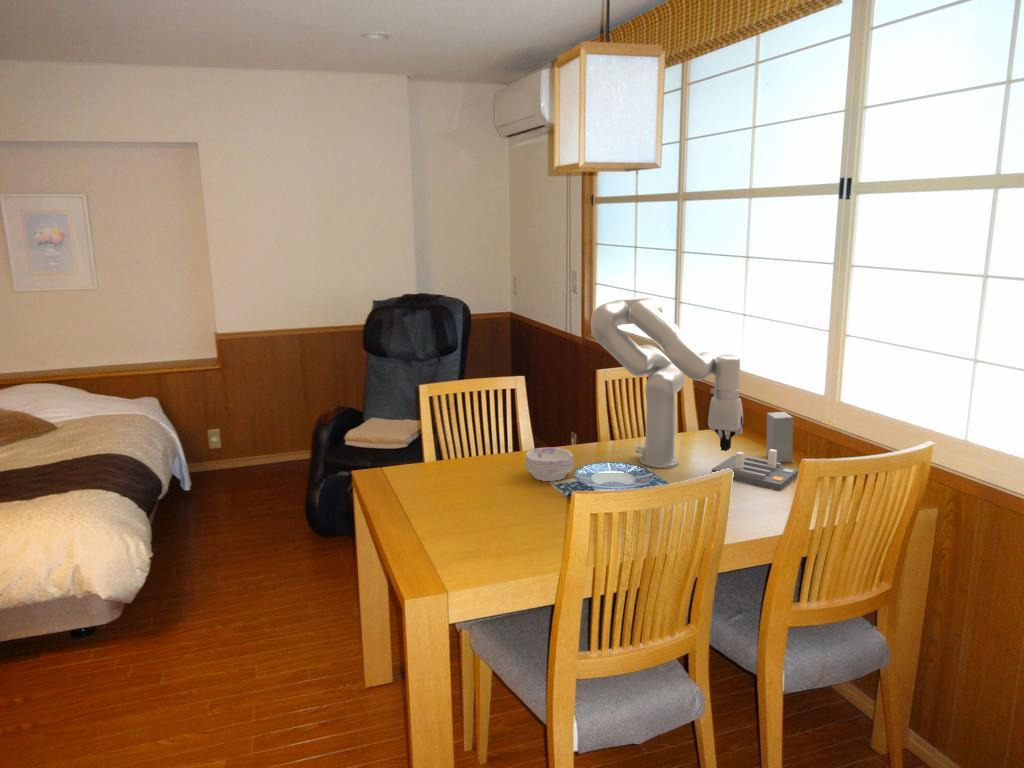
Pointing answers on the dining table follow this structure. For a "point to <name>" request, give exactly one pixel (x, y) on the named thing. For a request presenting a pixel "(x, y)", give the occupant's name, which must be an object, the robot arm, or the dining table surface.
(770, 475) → the breaker panel
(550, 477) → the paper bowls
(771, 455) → the breaker handle
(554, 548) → the dining table surface
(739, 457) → the block
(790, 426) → the skincare box
